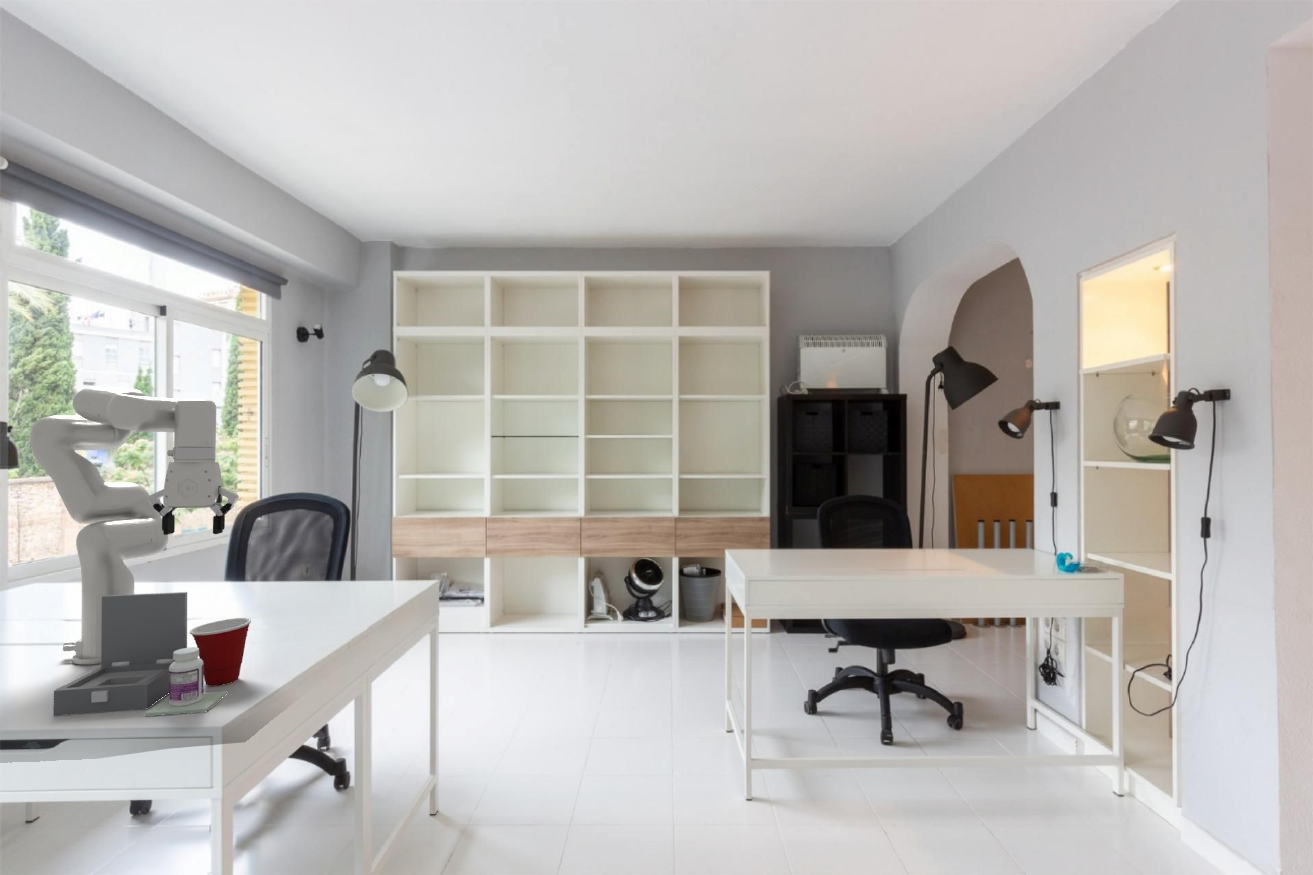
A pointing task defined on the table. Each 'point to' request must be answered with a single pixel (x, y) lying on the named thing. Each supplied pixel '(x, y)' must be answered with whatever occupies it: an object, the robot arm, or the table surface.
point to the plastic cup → (221, 649)
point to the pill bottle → (186, 677)
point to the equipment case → (130, 655)
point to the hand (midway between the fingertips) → (193, 533)
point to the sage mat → (200, 706)
